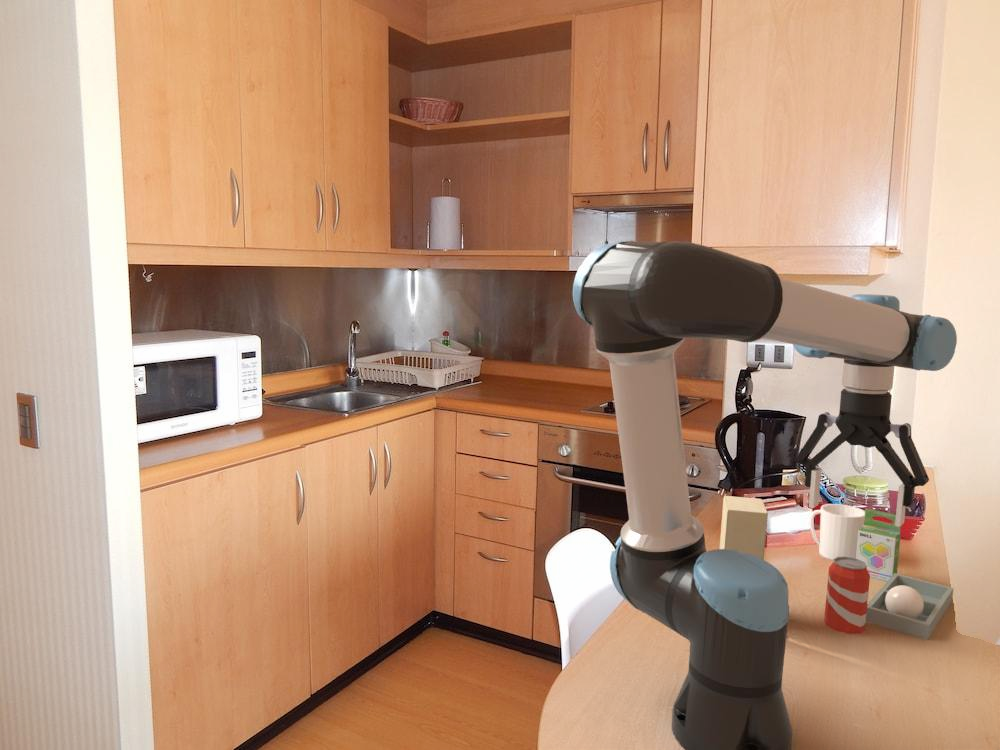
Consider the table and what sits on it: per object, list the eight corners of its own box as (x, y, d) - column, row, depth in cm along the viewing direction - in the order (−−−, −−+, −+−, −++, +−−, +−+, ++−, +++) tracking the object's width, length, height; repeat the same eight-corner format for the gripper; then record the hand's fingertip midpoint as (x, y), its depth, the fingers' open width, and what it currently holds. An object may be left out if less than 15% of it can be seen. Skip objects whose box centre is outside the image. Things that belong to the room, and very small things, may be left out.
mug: (857, 551, 170) (861, 506, 168) (866, 567, 161) (871, 519, 160) (803, 546, 172) (807, 501, 171) (809, 561, 164) (813, 514, 162)
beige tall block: (762, 632, 131) (772, 512, 128) (717, 627, 133) (726, 508, 130) (757, 612, 139) (766, 498, 136) (714, 607, 141) (722, 495, 138)
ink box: (853, 577, 156) (859, 512, 154) (859, 571, 159) (865, 508, 157) (891, 587, 152) (898, 520, 150) (896, 581, 155) (903, 515, 153)
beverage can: (862, 641, 129) (869, 572, 127) (821, 631, 132) (827, 564, 131) (865, 627, 134) (872, 560, 133) (826, 617, 138) (832, 552, 136)
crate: (927, 644, 129) (929, 625, 128) (862, 624, 135) (864, 606, 135) (951, 604, 144) (953, 587, 144) (892, 589, 150) (894, 573, 150)
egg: (917, 630, 132) (921, 597, 131) (879, 619, 135) (882, 587, 135) (925, 618, 136) (929, 586, 135) (888, 608, 140) (891, 576, 139)
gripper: (958, 396, 122) (943, 526, 125) (797, 378, 138) (788, 494, 141) (948, 402, 117) (933, 538, 120) (781, 383, 132) (772, 503, 136)
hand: (855, 515), depth 130 cm, fingers open, 13 cm apart
